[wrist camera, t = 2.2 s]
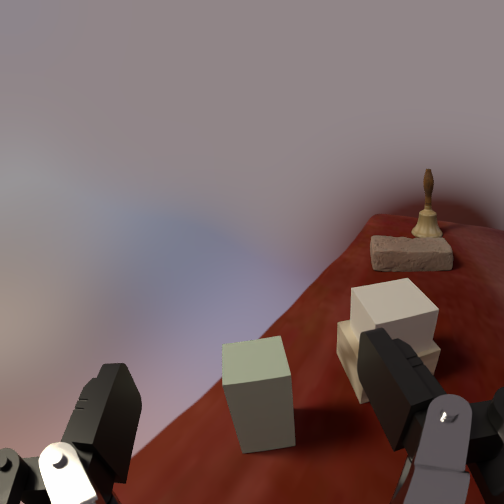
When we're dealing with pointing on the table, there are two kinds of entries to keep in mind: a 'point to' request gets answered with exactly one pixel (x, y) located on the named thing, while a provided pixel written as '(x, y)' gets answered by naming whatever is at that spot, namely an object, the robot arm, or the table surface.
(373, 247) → the brick
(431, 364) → the tower base
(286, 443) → the sage pillar
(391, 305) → the tower top
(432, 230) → the hand bell
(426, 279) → the table surface
